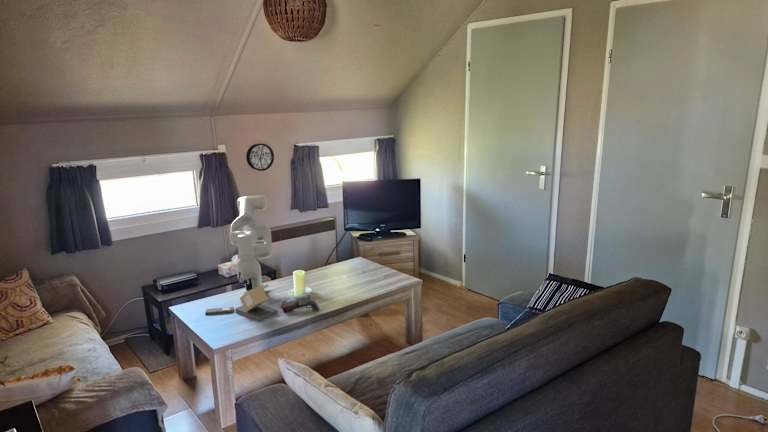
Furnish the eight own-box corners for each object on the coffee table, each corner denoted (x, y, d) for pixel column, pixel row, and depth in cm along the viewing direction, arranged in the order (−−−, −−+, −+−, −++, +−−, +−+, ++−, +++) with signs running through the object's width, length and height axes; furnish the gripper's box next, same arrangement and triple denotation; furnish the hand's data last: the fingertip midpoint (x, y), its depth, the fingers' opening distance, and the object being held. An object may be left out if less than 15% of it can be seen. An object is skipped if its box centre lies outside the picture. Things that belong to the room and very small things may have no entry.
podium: (253, 304, 271) (253, 300, 271) (277, 313, 260) (277, 309, 259) (235, 312, 262) (235, 308, 262) (260, 322, 251) (259, 317, 250)
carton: (251, 293, 264) (261, 285, 258) (258, 306, 263) (268, 299, 256) (239, 298, 258) (248, 290, 251) (246, 311, 257) (256, 304, 250)
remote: (205, 315, 260) (205, 312, 260) (207, 312, 264) (207, 308, 264) (232, 313, 262) (232, 310, 261) (233, 310, 266) (233, 306, 266)
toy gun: (284, 316, 265) (280, 299, 262) (320, 308, 266) (315, 291, 263) (283, 319, 261) (279, 303, 258) (319, 311, 261) (315, 294, 259)
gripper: (253, 252, 261) (256, 285, 265) (230, 259, 250) (233, 293, 253) (262, 254, 257) (265, 287, 261) (239, 262, 245) (242, 296, 249)
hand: (249, 290), depth 257 cm, fingers closed
